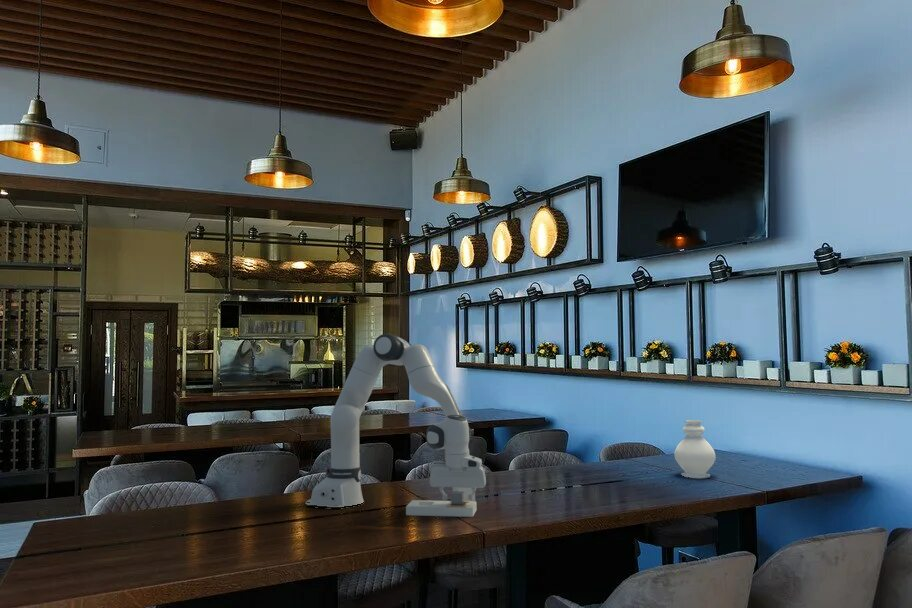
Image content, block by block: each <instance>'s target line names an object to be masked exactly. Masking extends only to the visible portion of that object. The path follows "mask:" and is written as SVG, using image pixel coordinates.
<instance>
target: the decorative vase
mask: <svg viewBox="0 0 912 608" xmlns="http://www.w3.org/2000/svg"><path fill="white" fill-rule="evenodd" d="M684 422H685V425H684V426H683V428H682V431H683V433H684V434H685V435H686V436H684V438H682V440H680V442H679V443H678V444H677V446H676V448H675V449H674V454H673V455H674V459H675V461H676V463H677V464H678V465H679V467H680V468H681V469H682V470H683V472H682V473H680V475H682V476H681V477H683V476H684V477H683V478H688V477H689V478H688V479H708V478H711V474H709V473H707V472H708V471H709V470H710V469H711V467H712V466H713V465H714V463H715V462H716V457H717V455H716V452H715V449H714V448H713V446H712V445H711V444H710V442H708V441H707V440H706V439H705V438H704V437H703V436H702V435H703V434H704V433H705V430H706V429H705V427H704V426H703V425H701V424H703V420H698V419H686V420H684Z"/></svg>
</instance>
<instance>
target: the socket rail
mask: <svg viewBox="0 0 912 608" xmlns="http://www.w3.org/2000/svg"><path fill="white" fill-rule="evenodd" d="M477 506H478V505H477V501H476V500H475V501H464V506H460V505H451V500H430V499H429V500H427V499H426V500H425V499H424V500H423V499H412V500H411V501H410V502H409V503H408V504H407V505H406V506H405V516H424V517H425V516H426V517H429V516H431V517H460V518H461V517H465V518H466V517H469V518H471V517H474V515H475V514H476V512H477V509H478V508H477Z"/></svg>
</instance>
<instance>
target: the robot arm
mask: <svg viewBox="0 0 912 608" xmlns="http://www.w3.org/2000/svg"><path fill="white" fill-rule="evenodd" d="M387 365H388V366H389V367H397V368H399V367H400V368H402V367H405V371H406V374H407V378H408V382H409V384H410V387H411V388H412V390H413V391H414V392H416V393H417V394H418V395H421V396H424V397H427V398H430V399H432V400H434V401H436V402H437V403H438V404H439V406H440V408H441V409H442V412H443V413H444V416H445V418H444V419H443V420H441V421H439V422H436V423H433V424H430V425H428V427H427V429H426V432H425V440H426V443H427V446H429V447H430V448H431V449H432V450H437V451H438V450H444V460H435V459H434V460H433V461H431V462H430V463H429V465H428V470H429V473H430V474H429V475H430V476H429V485H430V486H431V487H432V488H439V492H440V493H441V495H442V501H448V493H445V491H444V489H445V488H453V487H464V488H472V491H473V492H472V494H469V500H473V494H474V493H475V494H476V491H477V489H483V488H484V487H485V486H486V484H487V478H486V472H485V469H484V468H485V467H483V466H482V464H483V461H482V460H483V459H481V458H479V457H476V456H473V455H470V449H469V444H470V443H469V442H470V441H471V436H472V432H471V428H470V426H469V423H468V420H467V418H466V417H465V416H463V415H462V412H461V410H460V408H459V407H458V404H457V402H456V400H455V397H454V395H453V393H452V392H451V390H450V388H449V386H448V385H447V384H446V382H444V381H443V380H442V379H441V377H440V375H439V374H438V372H437V369H436V367H435V363H434V360H433V358H432V356H431V354H430V352H429V350H428V348H427V347H426V346H425V345H423V344H420V343H418V344H417V343H416V344H411V343H410V342H408V341H406V339H403V338H402V337H399V336H396V335H394V334H392V333H383V334H380V335H379V336H377V338H376V339H375V340H374V342H373V344H368V345H365V346H363V347H362V349H361V350H360V352H359V353H358V355H357V357H356V358H355V360H354V362H353V364H352V367H351V369H350V370H349V373H348V376H347V378H346V379H345V383H344V385H343V388H342V390H341V391H340V393H339V396H338V399H337V400H336V403H335V406H334V407H333V410H332V412H331V415H330V465H331V466H329V467H328V468H327V469H326V470H325V474H326V477H325V478H324V479H322V480H321V481H320V482H319V483H317V484H316V486H315V487H313V489H312V492H311V495H310V496H311V498H309V499H308V500H306V501H305V504H307V505H317V506H327V507H344V506H352V505H357V504H361V503H363V502H364V503H365V500H364V498H363V492H362V486H361V485H362V484H361V479H362V471H361V469H362V468H361V467H362V466H361V465H360V464H361V463H360V459H361V457H360V456H361V454H360V418H361V415H362V413H363V411H364V409H365V406H366V405H367V402H368V400H369V398H370V396H371V395H372V393H373V392H372V391H373V389H374V387H375V385H376V382H377V380H378V378H379V375H380V374H381V371H382V369H383V368H384V367H385V366H387ZM307 502H310V503H307ZM364 503H363V504H364ZM361 505H362V504H361Z"/></svg>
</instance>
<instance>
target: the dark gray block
mask: <svg viewBox="0 0 912 608" xmlns="http://www.w3.org/2000/svg"><path fill="white" fill-rule="evenodd" d="M450 497H451V498H450V501H451V505H460V506H464V492H463V491H453V490H452V492H451V494H450Z"/></svg>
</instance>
